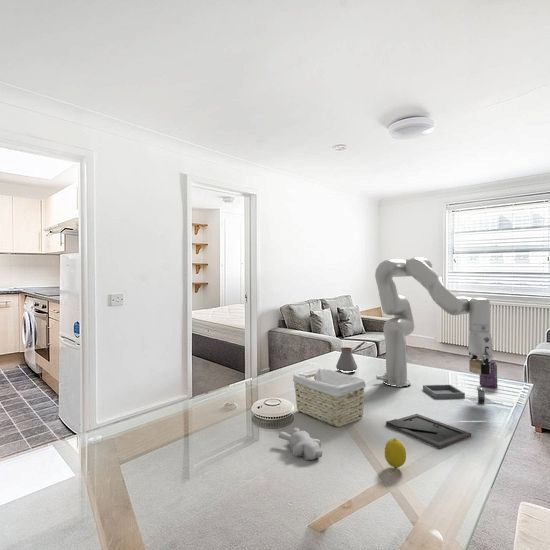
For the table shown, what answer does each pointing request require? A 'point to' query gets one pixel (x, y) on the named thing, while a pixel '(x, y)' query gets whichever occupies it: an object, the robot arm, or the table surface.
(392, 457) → the lemon
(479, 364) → the maple ring
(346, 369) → the coffee pot
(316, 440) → the bunny figurine
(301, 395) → the storage basket
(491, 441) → the table surface
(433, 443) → the picture frame
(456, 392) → the charcoal tray
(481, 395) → the grey knobbed square plate
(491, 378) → the beverage can
